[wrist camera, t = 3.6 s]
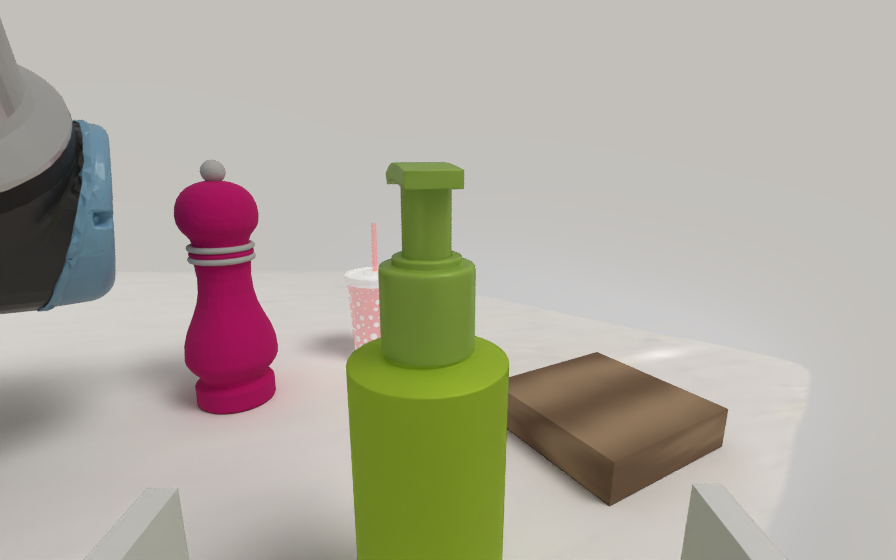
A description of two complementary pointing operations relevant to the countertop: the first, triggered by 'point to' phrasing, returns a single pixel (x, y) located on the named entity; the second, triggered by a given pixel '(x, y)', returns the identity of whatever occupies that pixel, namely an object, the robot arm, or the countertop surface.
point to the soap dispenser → (428, 395)
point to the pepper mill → (225, 296)
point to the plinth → (611, 423)
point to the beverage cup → (365, 299)
